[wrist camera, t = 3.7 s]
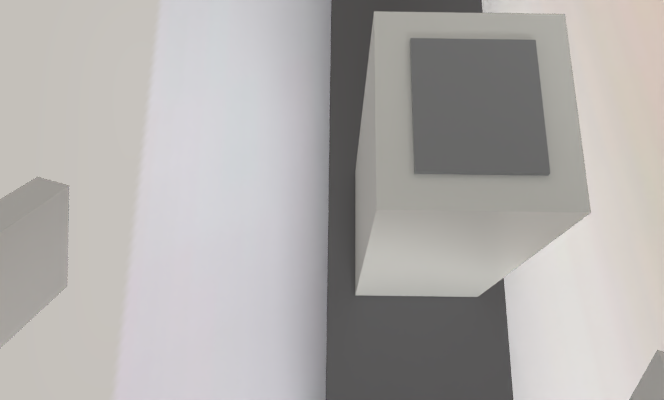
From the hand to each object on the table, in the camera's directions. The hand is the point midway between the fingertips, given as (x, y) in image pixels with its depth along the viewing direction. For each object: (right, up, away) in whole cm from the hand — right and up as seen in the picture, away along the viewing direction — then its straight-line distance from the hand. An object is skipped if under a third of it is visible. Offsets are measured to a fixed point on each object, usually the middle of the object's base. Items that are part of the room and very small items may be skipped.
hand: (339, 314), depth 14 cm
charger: (+3, +1, +11) cm, 11 cm away
